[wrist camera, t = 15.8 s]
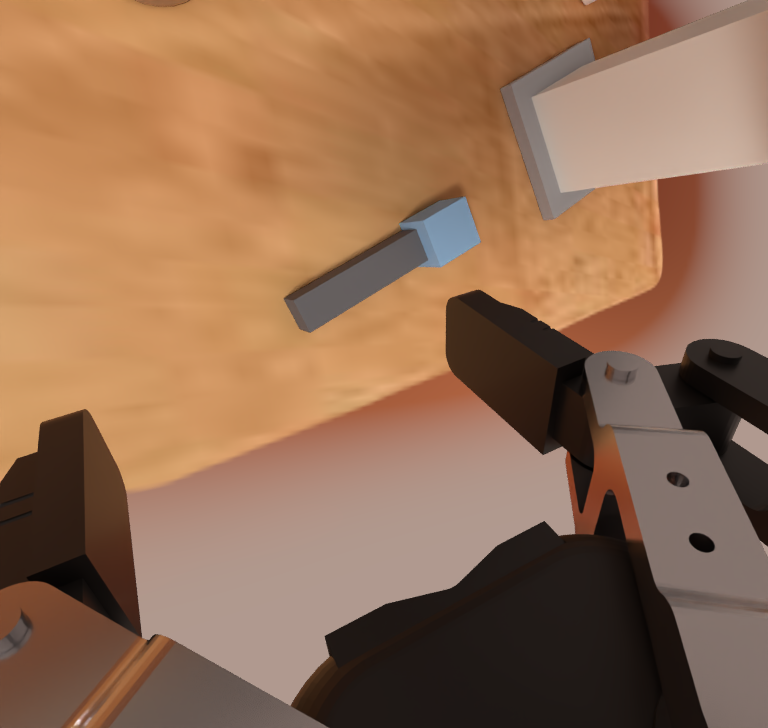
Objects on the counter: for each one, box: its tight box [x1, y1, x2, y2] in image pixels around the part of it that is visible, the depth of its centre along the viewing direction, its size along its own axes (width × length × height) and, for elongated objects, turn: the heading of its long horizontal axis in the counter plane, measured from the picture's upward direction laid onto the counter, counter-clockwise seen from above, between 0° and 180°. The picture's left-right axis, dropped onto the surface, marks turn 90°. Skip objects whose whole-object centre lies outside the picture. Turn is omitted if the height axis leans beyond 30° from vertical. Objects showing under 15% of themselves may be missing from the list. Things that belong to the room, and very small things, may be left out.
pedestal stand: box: [500, 0, 768, 220], centre depth 40 cm, size 18×14×32 cm
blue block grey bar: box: [284, 196, 481, 333], centre depth 45 cm, size 18×4×4 cm, turn 117°
